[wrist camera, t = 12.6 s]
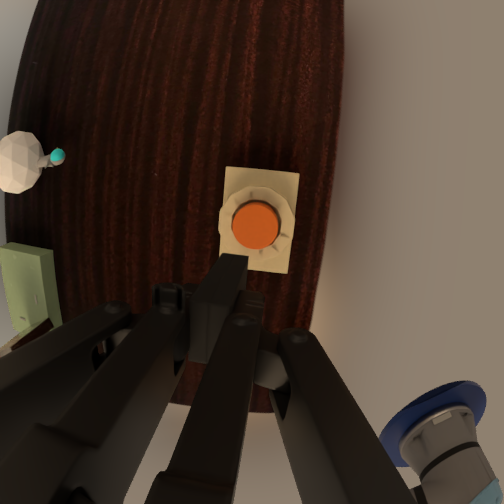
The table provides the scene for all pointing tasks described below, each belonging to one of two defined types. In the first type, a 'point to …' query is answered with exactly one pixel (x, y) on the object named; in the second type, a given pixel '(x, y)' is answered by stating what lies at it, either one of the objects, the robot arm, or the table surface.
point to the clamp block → (30, 285)
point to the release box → (267, 192)
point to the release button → (255, 225)
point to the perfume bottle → (23, 161)
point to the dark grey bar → (27, 336)
